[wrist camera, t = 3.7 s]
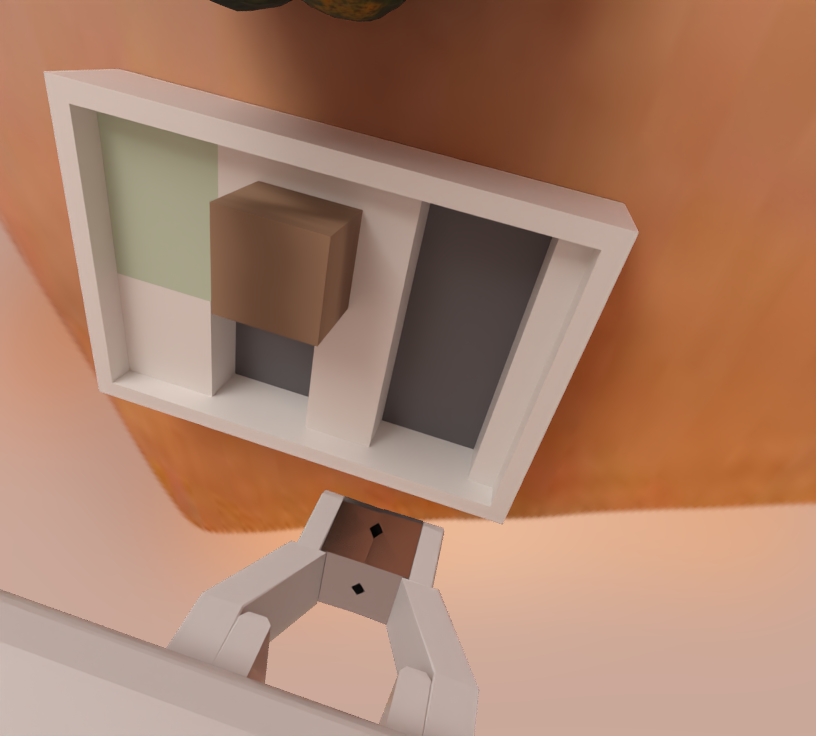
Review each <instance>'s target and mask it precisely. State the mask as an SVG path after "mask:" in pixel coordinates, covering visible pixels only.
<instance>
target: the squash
mask: <svg viewBox="0 0 816 736" xmlns="http://www.w3.org/2000/svg"><path fill="white" fill-rule="evenodd" d="M210 1H212V2H215V3H217V4H219V5H222V6H225V7H227V8H230V9H233V10H236V11H254V10H259V9H266V8H272V7H278V6H282V5H284V4H286V3H288V2H290V1H292V0H210ZM302 1H304V2H305V3H307V4H308V5H309V6H311V7H313V8H315V9H317V10H319V11H321V12H323V13H326V14H328V15H330V16H332V17H335V18H341V19H347V20H353V21H373V20H376V19H379V18H381V17H383V16H384V15H386V14H387V13H389V12H391V11H392V10H394V9H396V8H398V7H399V6H400V5H401V4H402V3H404V2H405V1H406V0H302Z"/></svg>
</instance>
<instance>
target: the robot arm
mask: <svg viewBox="0 0 816 736" xmlns="http://www.w3.org/2000/svg"><path fill="white" fill-rule="evenodd" d="M443 535H444V529H443V528H442V527H439V526H435V525H432V524H429V523H426V522H423V521H421V520H417V519H414V518H411V517H408V516H405V515H401V514H398V513H395V512H392V511H388V510H385V509H384V510H383V509H380V508H377V507H374V506H372V505H369V504H366V503H363V502H360V501H357V500H354V499H352V498H349V497H346V496H342V495H339V494H337V493H334V492H331V491H328V490H325V491H324V492H323V493H322V495H321V496H320V498H319V500H318V502H317V504H316V506H315V508H314V510H313V512H312V514H311V516H310V518H309V520H308V522H307V524H306V526H305V528H304V530H303V532H302V534H301V536H300V538H299V540H298V542H294V541H290V542H288V543H287V544H285V545H283V546H282V547H280V548H278V549H276V550H275V551H273V552H271V553H269V554H268V555H266V556H264V557H263V558H261V559H259V560H257V561H256V562H254V563H252V564H251V565H249V566H247V567H245V568H244V569H242V570H240V571H239V572H237V573H235V574H234V575H232V576H230V577H228V578H227V579H225V580H223V581H221V582H220V583H218V584H216V585H215V586H213V587H211V588H210V589H208V590H206V591H204V592H203V593H202V594H201V595H200V597H199V599H198V600H197V601H196V603H195V605H194V606H193V608H192V609H191V611H190V612H189V614H188V616H187V617H186V619H185V620H184V622H183V623H182V625H181V627H180V628H179V629H178V631H177V633H176V634H175V636H174V637H173V639H172V640H171V642H170V643H169V645H168V646H167V648H163V647H160V646H158V645H155V644H152V643H149V642H146V641H143V640H141V639H138V638H135V637H132V636H129V635H127V634H124V633H121V632H118V631H116V630H113V629H110V628H107V627H104V626H101V625H99V624H96V623H93V622H90V621H88V620H85V619H82V618H79V617H76V616H74V615H71V614H68V613H65V612H62V611H60V610H57V609H54V608H51V607H48V606H46V605H43V604H40V603H37V602H34V601H31V600H29V599H26V598H23V597H20V596H18V595H15V594H12V593H9V592H6V591H3V590H1V589H0V736H474V734H475V724H476V714H477V704H478V694H479V689H478V686H477V684H476V681H475V679H474V676H473V674H472V671H471V669H470V666H469V664H468V661H467V659H466V656H465V654H464V651H463V649H462V646H461V644H460V641H459V639H458V637H457V634H456V631H455V629H454V627H453V624H452V621H451V619H450V616H449V615H448V611H447V609H446V606H445V604H444V602H443V599H442V597H441V594H440V592H439V590H438V589H435V588H433V584H434V579H435V574H436V569H437V564H438V559H439V554H440V550H441V545H442V540H443ZM317 601H319V602H322V603H325V604H328V605H332V606H335V607H338V608H342V609H345V610H348V611H351V612H354V613H357V614H359V615H362V616H365V617H367V618H370V619H373V620H375V621H378V622H381V623H383V624H386V625H387V632H388V636H389V640H390V644H391V648H392V652H393V657H394V661H395V665H396V669H397V673H398V676H397V679H396V681H395V684H394V686H393V689H392V692H391V694H390V697H389V699H388V702H387V704H386V707H385V710H384V712H383V715H382V717H381V720H380V722H379V724H376V723H374V722H371V721H368V720H365V719H362V718H359V717H356V716H354V715H351V714H348V713H346V712H343V711H340V710H337V709H334V708H332V707H329V706H326V705H323V704H320V703H318V702H315V701H312V700H309V699H306V698H304V697H301V696H298V695H295V694H292V693H290V692H287V691H284V690H281V689H278V688H276V687H272V686H270V685H267V684H265V676H266V668H267V658H268V648H269V642H270V641H272V640H273V639H274V638H275V637H276V636H278V635H279V634H280V633H281V632H283V631H284V630H285V629H286V628H288V627H289V626H290V625H291V624H292V623H294V622H295V621H296V620H297V619H299V618H300V617H301V616H302V615H303V614H305V613H306V612H307V611H308V610H310V609H311V608H312V607H313V606H315V605H316V604H317Z"/></svg>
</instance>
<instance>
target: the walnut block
mask: <svg viewBox="0 0 816 736" xmlns="http://www.w3.org/2000/svg"><path fill="white" fill-rule="evenodd" d="M209 204H210V260H211V314H213V315H217V316H220V317H223V318H226V319H230V320H233V321H236V322H239V323H243V324H246V325H249V326H252V327H256V328H259V329H262V330H265V331H269V332H272V333H275V334H278V335H282V336H285V337H288V338H291V339H295V340H298V341H301V342H304V343H307V344H311V345H314V346H317V347H318V345H319V344H320V343H321V342H322V340H323V339H324V338H325V337H326V335H327V334H328V333H329V332H330V330H331V329H332V328H333V327H334V325H335V324H336V323H337V322H338V320H339V319H340V318H341V317H342V315H343V314H344V313H345V312H346V310H347V309H348V305H349V299H350V292H351V286H352V279H353V272H354V266H355V259H356V253H357V246H358V239H359V233H360V226H361V220H362V213H363V210H361V209H357V208H354V207H350V206H347V205H343V204H340V203H336V202H333V201H329V200H325V199H322V198H318V197H315V196H311V195H308V194H304V193H300V192H297V191H293V190H290V189H286V188H283V187H279V186H275V185H272V184H268V183H265V182H261V181H257V182H255V183H252V184H250V185H248V186H245V187H243V188H241V189H238V190H236V191H234V192H231V193H229V194H227V195H224V196H222V197H220V198H217V199H215V200H213V201H210V202H209Z"/></svg>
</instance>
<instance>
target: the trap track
mask: <svg viewBox="0 0 816 736" xmlns="http://www.w3.org/2000/svg"><path fill="white" fill-rule="evenodd" d="M44 77H45V83H46V88H47V94H48V100H49V105H50V111H51V117H52V123H53V128H54V134H55V140H56V146H57V151H58V157H59V163H60V169H61V174H62V180H63V186H64V192H65V197H66V203H67V209H68V215H69V220H70V226H71V232H72V238H73V243H74V249H75V255H76V261H77V266H78V272H79V278H80V284H81V289H82V295H83V301H84V306H85V312H86V318H87V324H88V329H89V335H90V341H91V347H92V352H93V358H94V364H95V370H96V375H97V381H98V387H99V391H100V392H103V393H106V394H109V395H112V396H115V397H118V398H121V399H124V400H127V401H130V402H133V403H136V404H139V405H142V406H145V407H148V408H151V409H154V410H157V411H160V412H163V413H166V414H169V415H172V416H175V417H178V418H181V419H184V420H187V421H190V422H194V423H197V424H200V425H203V426H206V427H209V428H212V429H215V430H218V431H221V432H224V433H227V434H230V435H233V436H236V437H239V438H242V439H245V440H248V441H251V442H254V443H257V444H260V445H263V446H266V447H269V448H272V449H275V450H278V451H281V452H284V453H288V454H291V455H294V456H297V457H300V458H303V459H306V460H309V461H312V462H315V463H318V464H321V465H324V466H327V467H330V468H333V469H336V470H339V471H342V472H345V473H348V474H351V475H354V476H357V477H360V478H363V479H366V480H369V481H372V482H375V483H378V484H382V485H385V486H388V487H391V488H394V489H397V490H400V491H403V492H406V493H409V494H412V495H415V496H418V497H421V498H424V499H427V500H430V501H433V502H436V503H439V504H442V505H445V506H448V507H451V508H454V509H457V510H460V511H463V512H466V513H469V514H472V515H476V516H479V517H482V518H485V519H488V520H491V521H494V522H497V523H500V524H503V522H504V520H505V518H506V516H507V514H508V511H509V509H510V507H511V505H512V503H513V501H514V499H515V497H516V494H517V492H518V490H519V488H520V486H521V484H522V482H523V479H524V477H525V475H526V473H527V471H528V469H529V467H530V464H531V462H532V460H533V458H534V456H535V454H536V452H537V449H538V447H539V445H540V443H541V441H542V439H543V437H544V434H545V432H546V430H547V428H548V426H549V424H550V422H551V419H552V417H553V415H554V413H555V411H556V409H557V407H558V404H559V402H560V400H561V398H562V396H563V394H564V392H565V390H566V387H567V385H568V383H569V381H570V379H571V377H572V375H573V372H574V370H575V368H576V366H577V364H578V362H579V360H580V357H581V355H582V353H583V351H584V349H585V347H586V345H587V342H588V340H589V338H590V336H591V334H592V332H593V330H594V327H595V325H596V323H597V321H598V319H599V317H600V315H601V312H602V310H603V308H604V306H605V304H606V302H607V300H608V297H609V295H610V293H611V291H612V289H613V287H614V285H615V283H616V280H617V278H618V276H619V274H620V272H621V270H622V268H623V265H624V263H625V261H626V259H627V257H628V255H629V253H630V250H631V248H632V246H633V244H634V242H635V240H636V238H637V235H638V233H639V232H638V230H637V228H636V226H635V224H634V222H633V220H632V218H631V216H630V213H629V211H628V209H627V207H626V205H625V203H621V202H617V201H613V200H610V199H606V198H602V197H598V196H595V195H591V194H587V193H583V192H580V191H576V190H572V189H568V188H565V187H561V186H557V185H553V184H550V183H546V182H542V181H538V180H535V179H531V178H527V177H523V176H520V175H516V174H512V173H508V172H505V171H501V170H497V169H493V168H490V167H486V166H482V165H478V164H475V163H471V162H467V161H463V160H460V159H456V158H452V157H448V156H445V155H441V154H437V153H433V152H430V151H426V150H422V149H418V148H415V147H411V146H407V145H403V144H400V143H396V142H392V141H388V140H384V139H381V138H377V137H373V136H369V135H366V134H362V133H358V132H354V131H351V130H347V129H343V128H339V127H336V126H332V125H328V124H324V123H321V122H317V121H313V120H309V119H306V118H302V117H298V116H294V115H291V114H287V113H283V112H279V111H276V110H272V109H268V108H264V107H261V106H257V105H253V104H249V103H246V102H242V101H238V100H234V99H231V98H227V97H223V96H219V95H216V94H212V93H208V92H204V91H201V90H197V89H193V88H189V87H186V86H182V85H178V84H174V83H171V82H167V81H163V80H159V79H156V78H152V77H148V76H144V75H141V74H137V73H133V72H129V71H126V70H122V69H99V70H67V71H44ZM257 181H261V182H265V183H268V184H272V185H275V186H279V187H283V188H286V189H290V190H293V191H297V192H300V193H304V194H308V195H311V196H315V197H318V198H322V199H325V200H329V201H333V202H336V203H340V204H343V205H347V206H350V207H354V208H357V209H361V210H363V213H362V220H361V226H360V233H359V239H358V246H357V253H356V259H355V266H354V272H353V279H352V286H351V292H350V299H349V305H348V309H347V310H346V312H345V313H344V314H343V315H342V317H341V318H340V319H339V320H338V322H337V323H336V324H335V325H334V327H333V328H332V329H331V330H330V332H329V333H328V334H327V335H326V337H325V338H324V339H323V340H322V342H321V343H320V344H319V345H318V347H317V346H314V345H311V344H307V343H304V342H301V341H298V340H295V339H291V338H288V337H285V336H282V335H278V334H275V333H272V332H269V331H265V330H262V329H259V328H256V327H252V326H249V325H246V324H243V323H239V322H236V321H233V320H230V319H226V318H223V317H220V316H217V315H213V314H211V260H210V204H209V202H210V201H213V200H215V199H217V198H220V197H222V196H224V195H227V194H229V193H231V192H234V191H236V190H238V189H241V188H243V187H245V186H248V185H250V184H252V183H255V182H257Z"/></svg>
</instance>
